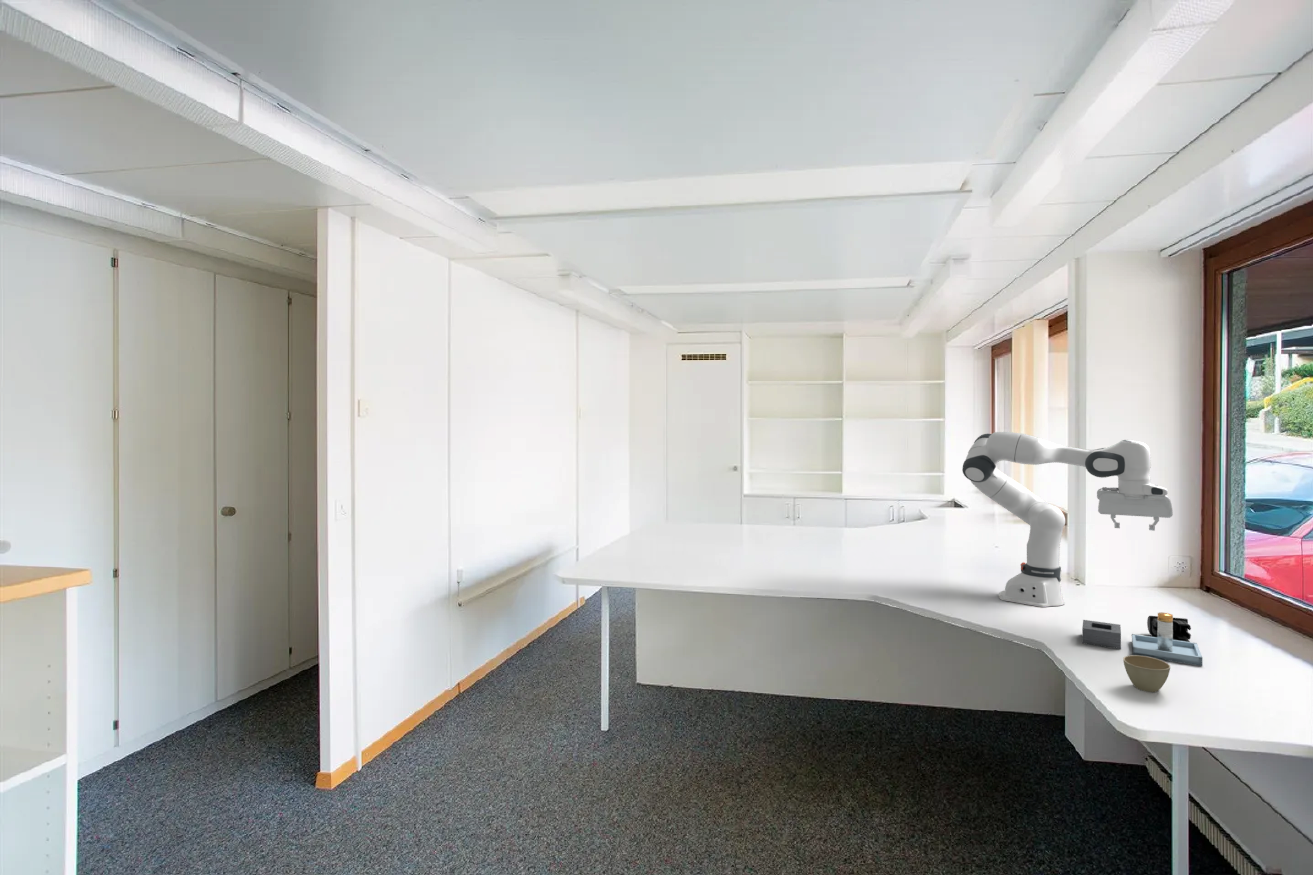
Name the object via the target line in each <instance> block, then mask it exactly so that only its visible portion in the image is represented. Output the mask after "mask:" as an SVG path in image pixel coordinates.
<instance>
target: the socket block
mask: <svg viewBox="0 0 1313 875" xmlns="http://www.w3.org/2000/svg"><path fill="white" fill-rule="evenodd" d="M1081 629H1082V631H1081V632H1082V635H1081V637H1082V640H1081V641H1082V644H1083V645H1090V646H1096V647H1097V646H1098V647H1102V648H1110V649H1116V650H1121V649H1122V631H1121V630H1122V629H1121V624H1118V623H1111V622H1104V621H1096V620H1088V619H1082V628H1081Z"/></svg>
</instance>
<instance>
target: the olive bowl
mask: <svg viewBox="0 0 1313 875" xmlns="http://www.w3.org/2000/svg"><path fill="white" fill-rule="evenodd" d="M1122 661H1123V662H1122V663H1123V665H1124V669H1125V672H1126V674H1127V677H1128V679H1129V680H1130V682H1131V683H1132V685H1133V687H1134V688H1136V689H1137V690H1139V691H1143V692H1146V693H1157V692H1159V691H1160V690H1161V689H1162V688H1163V687H1164V685H1165V683H1166V682H1167V679H1168V677H1169V674H1170V671H1171V665H1170V664H1169V663H1168V662H1166V661H1165V660H1160V659H1156V658H1152V657H1147V656H1139V655H1133V654H1130V655H1125V656H1124V657H1123V660H1122Z"/></svg>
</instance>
